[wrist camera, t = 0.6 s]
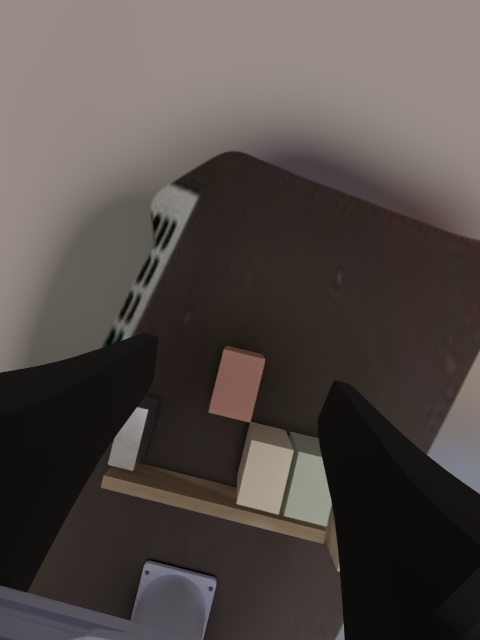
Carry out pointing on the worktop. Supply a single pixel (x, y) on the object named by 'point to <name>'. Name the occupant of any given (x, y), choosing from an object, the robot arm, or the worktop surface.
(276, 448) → the cream rectangular block
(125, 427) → the grey rectangular block
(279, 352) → the worktop surface
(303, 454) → the pale green block
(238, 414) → the pink rectangular block
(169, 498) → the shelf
